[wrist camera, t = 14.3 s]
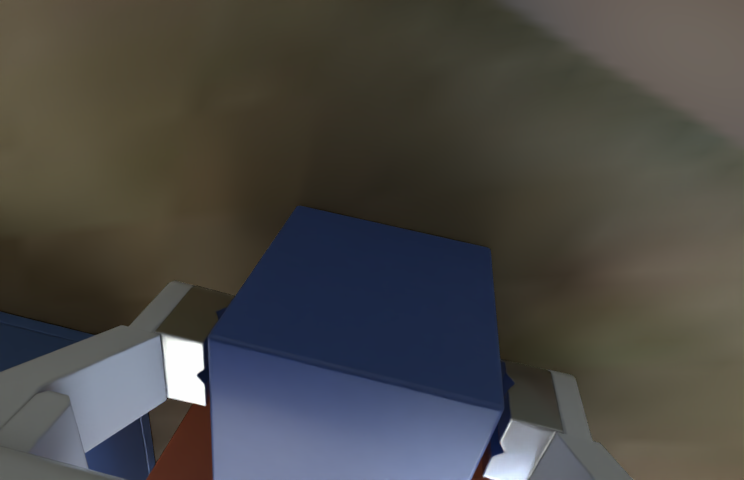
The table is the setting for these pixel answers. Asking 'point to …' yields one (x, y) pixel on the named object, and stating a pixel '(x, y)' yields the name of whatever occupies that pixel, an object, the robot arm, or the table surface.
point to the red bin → (200, 450)
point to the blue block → (356, 357)
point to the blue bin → (117, 453)
